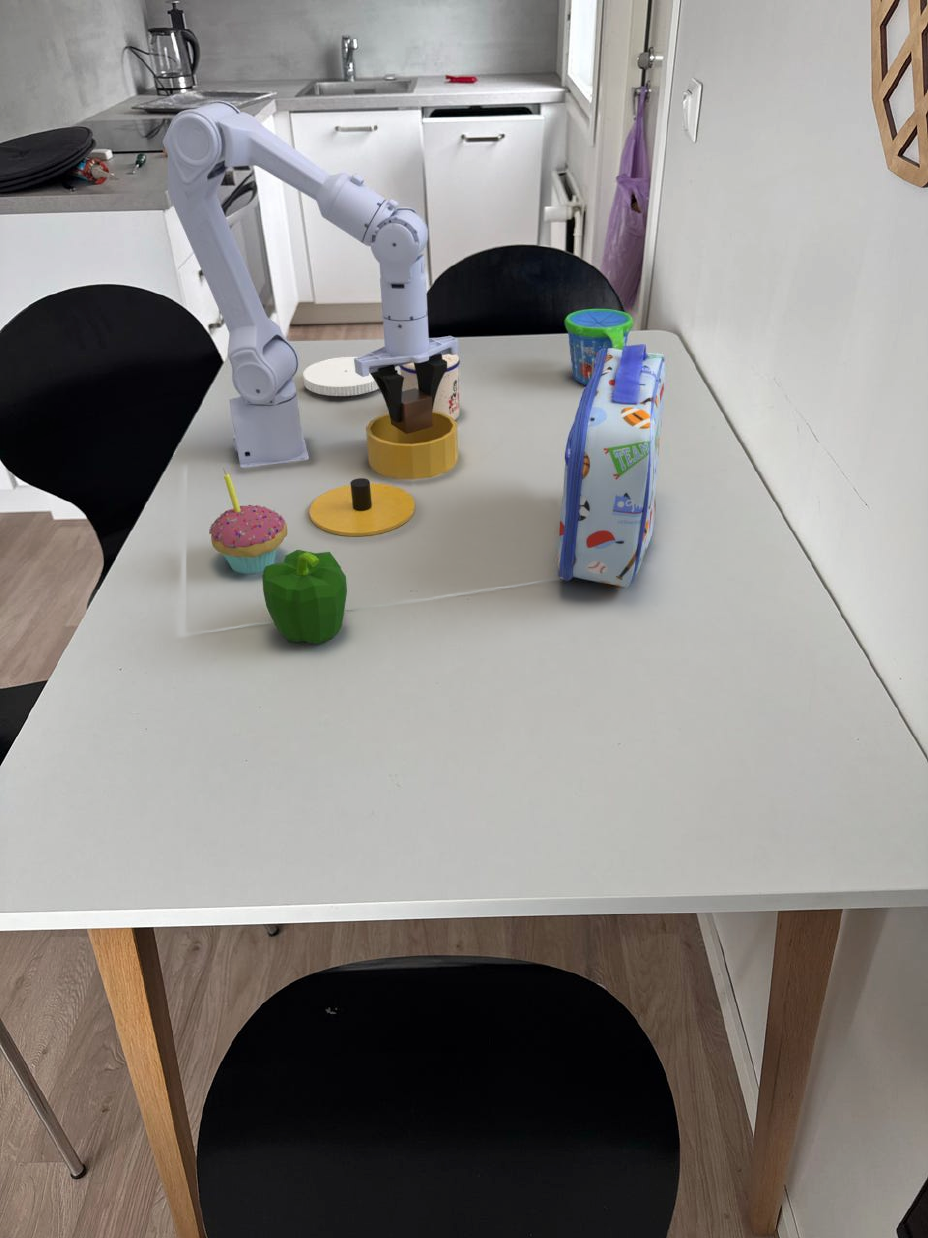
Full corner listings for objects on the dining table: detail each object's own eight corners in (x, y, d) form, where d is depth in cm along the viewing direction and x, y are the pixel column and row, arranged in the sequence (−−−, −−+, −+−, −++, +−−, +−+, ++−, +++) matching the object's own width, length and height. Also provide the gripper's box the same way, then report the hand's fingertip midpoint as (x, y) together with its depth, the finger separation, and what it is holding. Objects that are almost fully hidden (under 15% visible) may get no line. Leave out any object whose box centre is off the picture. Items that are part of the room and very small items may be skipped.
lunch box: (576, 487, 124) (584, 319, 112) (656, 493, 122) (674, 322, 110) (548, 602, 102) (555, 408, 90) (646, 611, 100) (667, 414, 88)
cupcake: (201, 574, 108) (181, 479, 101) (248, 541, 114) (232, 449, 108) (261, 592, 105) (244, 495, 98) (306, 557, 111) (293, 463, 104)
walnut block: (406, 434, 126) (404, 404, 124) (390, 424, 129) (388, 394, 126) (433, 426, 128) (431, 396, 125) (417, 416, 131) (415, 387, 128)
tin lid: (316, 547, 113) (311, 513, 110) (305, 497, 124) (301, 466, 121) (424, 532, 115) (422, 499, 113) (405, 485, 126) (403, 453, 123)
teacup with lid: (463, 426, 141) (461, 349, 135) (402, 429, 141) (397, 352, 134) (457, 396, 151) (455, 323, 145) (400, 399, 151) (395, 326, 144)
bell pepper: (264, 618, 101) (249, 536, 95) (339, 602, 103) (329, 521, 97) (279, 663, 94) (265, 578, 88) (359, 644, 96) (350, 560, 91)
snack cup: (550, 366, 162) (552, 306, 156) (609, 360, 163) (613, 300, 158) (580, 399, 149) (583, 335, 143) (643, 392, 151) (648, 329, 145)
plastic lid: (298, 377, 160) (296, 362, 159) (379, 366, 163) (377, 352, 162) (312, 406, 149) (310, 391, 148) (398, 395, 152) (397, 379, 151)
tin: (377, 487, 125) (374, 450, 122) (363, 450, 135) (360, 414, 132) (466, 476, 128) (465, 439, 125) (446, 440, 137) (445, 405, 134)
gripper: (369, 333, 114) (378, 438, 122) (470, 311, 120) (472, 412, 128) (342, 319, 119) (352, 421, 126) (440, 298, 125) (444, 396, 133)
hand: (411, 415), depth 127 cm, fingers closed on walnut block, 4 cm apart
